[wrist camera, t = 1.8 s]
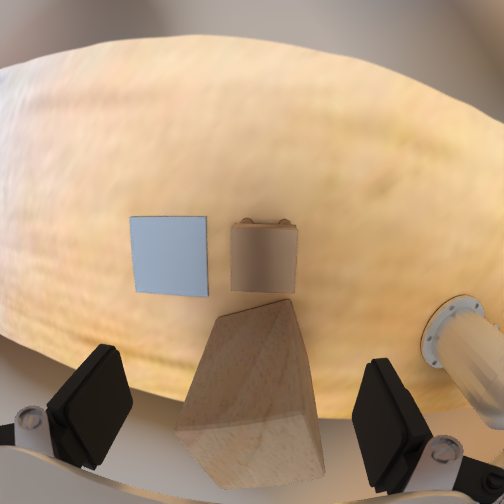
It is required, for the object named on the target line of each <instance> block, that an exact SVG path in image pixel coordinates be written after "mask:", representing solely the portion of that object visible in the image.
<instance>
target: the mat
mask: <svg viewBox="0 0 504 504" xmlns="http://www.w3.org/2000/svg"><path fill="white" fill-rule="evenodd" d="M130 234H131V247H132V259H133V269H134V278H135V287H136V292H142V293H154V294H167V295H180V296H196V297H208V296H209V291H208V262H207V217H202V216H158V217H130Z"/></svg>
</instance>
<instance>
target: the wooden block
mask: <svg viewBox="0 0 504 504" xmlns="http://www.w3.org/2000/svg"><path fill="white" fill-rule="evenodd" d="M175 434H176V436H177V437H178V438H179V440H180V441H181V442H182V444H183V445H184V446H185V447H186V449H187V450H188V451H189V453H190V454H191V455H192V456H193V458H194V459H195V460H196V461H197V462H198V464H199V465H200V466H201V467H202V468H203V470H205V472H206V473H207V474H208V475H209V476H210V478H211V479H212V480H213V481H214V482H215V483H216V484H217V485H218V486H219V487H220V488H221V489H225V490H228V489H247V488H259V487H268V486H277V485H284V484H292V483H298V482H303V481H309V480H314V479H319V478H322V477H324V475H325V466H324V459H323V451H322V444H321V436H320V430H319V423H318V416H317V410H316V403H315V397H314V391H313V385H312V378H311V372H310V367H309V361H308V356H307V353H306V349H305V346H304V343H303V339H302V336H301V332H300V329H299V326H298V322H297V319H296V316H295V312H294V309H293V306H292V302H291V301H290V300H284V301H280V302H276V303H273V304H269V305H266V306H262V307H258V308H254V309H251V310H247V311H243V312H239V313H235V314H231V315H227V316H223V317H219V318H218V319H216V322H215V324H214V327H213V329H212V332H211V335H210V337H209V340H208V342H207V345H206V347H205V350H204V353H203V355H202V358H201V360H200V363H199V366H198V368H197V371H196V373H195V376H194V378H193V381H192V384H191V386H190V389H189V391H188V394H187V397H186V399H185V402H184V405H183V407H182V410H181V412H180V415H179V418H178V420H177V423H176V426H175Z"/></svg>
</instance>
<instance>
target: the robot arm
mask: <svg viewBox="0 0 504 504" xmlns="http://www.w3.org/2000/svg"><path fill="white" fill-rule="evenodd" d="M421 352H422V356H423V357H424V359H425V361H426V362H427V363H428V364H429V365H430V366H432V367H434V368H444V369H445V370H446V372H447V373H448V374H449V376H450V377H451V378H452V380H453V381H454V382H455V384H456V385H457V386H458V388H459V389H460V390H461V392H462V393H463V394H464V396H465V397H466V399H467V400H468V401H469V403H470V404H471V406H472V407H473V409H474V410H475V411H476V413H477V414H478V416H479V417H480V419H481V420H482V421H483V423H484V424H485V425H486V426H488V427H489V428H491V429H495V430H504V334H503V333H502V332H501V331H500V330H499V325H498V324H491V323H490V322H489V321H487V320H486V319H485V315H484V309H483V306H482V305H481V303H480V302H479V301H478V300H477V299H475V298H473V297H472V296H468V295H462V296H458V297H455V298H453V299H451V300H449V301H448V302H446V303H445V304H444V305H442V306H441V307H440V308H439V309H438V310H437V311H436V313H435V314H434V315H433V316H432V318H431V319H430V321H429V322H428V324H427V326H426V328H425V330H424V333H423V336H422V341H421ZM132 405H133V399H132V396H131V393H130V389H129V386H128V382H127V379H126V375H125V372H124V368H123V364H122V360H121V356H120V353H119V351H118V350H116V348H115V347H114V346H111V345H106V344H100V345H99V346H98V347H97V348H96V349H95V350H94V351H93V352H92V353H91V354H90V355H89V357H88V358H87V359H86V360H85V361H84V362H83V363H82V364H81V365H80V367H79V368H78V369H77V370H76V371H75V372H74V373H73V375H72V376H71V377H70V378H69V379H68V380H67V381H66V382H65V384H64V385H63V386H62V387H61V388H60V389H59V391H58V392H57V393H56V394H55V395H54V396H53V398H52V399H51V400H50V401H49V402H48V403H47V407H48V408H47V409H46V411H45V410H44V409H43V408H41V407H39V406H28V407H25V408H23V409H21V410H20V411H19V412H18V413H17V415H16V416H15V423H12V424H7V425H2V426H0V504H219V503H211V502H203V501H196V500H190V499H184V498H179V497H174V496H169V495H164V494H160V493H155V492H151V491H147V490H144V489H140V488H136V487H133V486H129V485H126V484H123V483H119V482H116V481H113V480H110V479H107V478H104V477H102V476H99V475H96V474H93V473H91V472H88V471H85V470H83V469H81V467H82V465H83V466H84V467H86V468H89V469H91V470H95V469H96V467H97V465H101V464H102V462H103V460H104V458H105V457H106V455H107V453H108V451H109V449H110V447H111V445H112V443H113V441H114V440H115V438H116V436H117V434H118V432H119V430H120V428H121V427H122V425H123V423H124V421H125V419H126V417H127V415H128V414H129V412H130V410H131V408H132ZM352 422H353V425H354V428H355V432H356V435H357V439H358V443H359V446H360V450H361V454H362V457H363V461H364V465H365V469H366V473H367V476H368V480H369V484H370V486H371V487H375V491H376V493H380V492H385V491H387V494H388V495H387V496H380V497H375V498H369V499H364V500H357V501H350V502H342V503H333V504H504V449H503V450H502V451H501V452H500V453H499V454H498V455H497V456H496V457H495V458H494V459H493V460H492V461H491V462H490V463H485V462H481V461H478V460H475V459H472V458H469V457H466V456H463V452H464V450H463V446H462V445H461V443H460V442H459V441H458V440H457V439H456V438H454V437H452V436H448V435H438V436H436V437H433V435H432V433H431V431H430V429H429V427H428V425H427V423H426V421H425V419H424V418H423V416H422V414H421V412H420V410H419V408H418V406H417V405H416V403H415V401H414V399H413V397H412V396H411V394H410V392H409V391H408V390H407V389H405V387H404V385H403V384H402V382H401V380H400V378H399V376H398V375H397V373H396V371H395V369H394V368H393V366H392V364H391V363H390V361H389V359H388V358H378V359H372V361H371V363H367V365H366V368H365V372H364V376H363V379H362V383H361V386H360V390H359V393H358V396H357V400H356V403H355V406H354V409H353V412H352Z"/></svg>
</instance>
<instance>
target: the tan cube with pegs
mask: <svg viewBox="0 0 504 504" xmlns="http://www.w3.org/2000/svg"><path fill="white" fill-rule="evenodd" d="M297 241H298V229H297V227H296V225H291V223H290V221H289V220H287V219H282V220H281V221H280V222H279V224H253V222H252V220H251V219H249V218H245V219H243V220H242V221H241V223H235V224H234V225H233V226H232V227H231V291H242V292H269V293H294V292H295V277H296V260H297Z"/></svg>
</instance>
